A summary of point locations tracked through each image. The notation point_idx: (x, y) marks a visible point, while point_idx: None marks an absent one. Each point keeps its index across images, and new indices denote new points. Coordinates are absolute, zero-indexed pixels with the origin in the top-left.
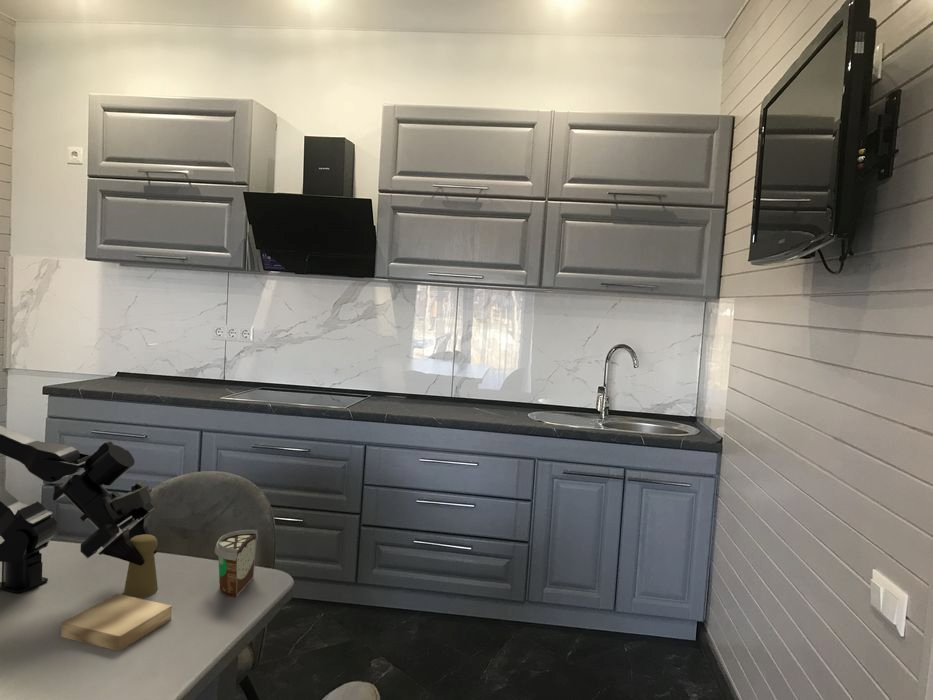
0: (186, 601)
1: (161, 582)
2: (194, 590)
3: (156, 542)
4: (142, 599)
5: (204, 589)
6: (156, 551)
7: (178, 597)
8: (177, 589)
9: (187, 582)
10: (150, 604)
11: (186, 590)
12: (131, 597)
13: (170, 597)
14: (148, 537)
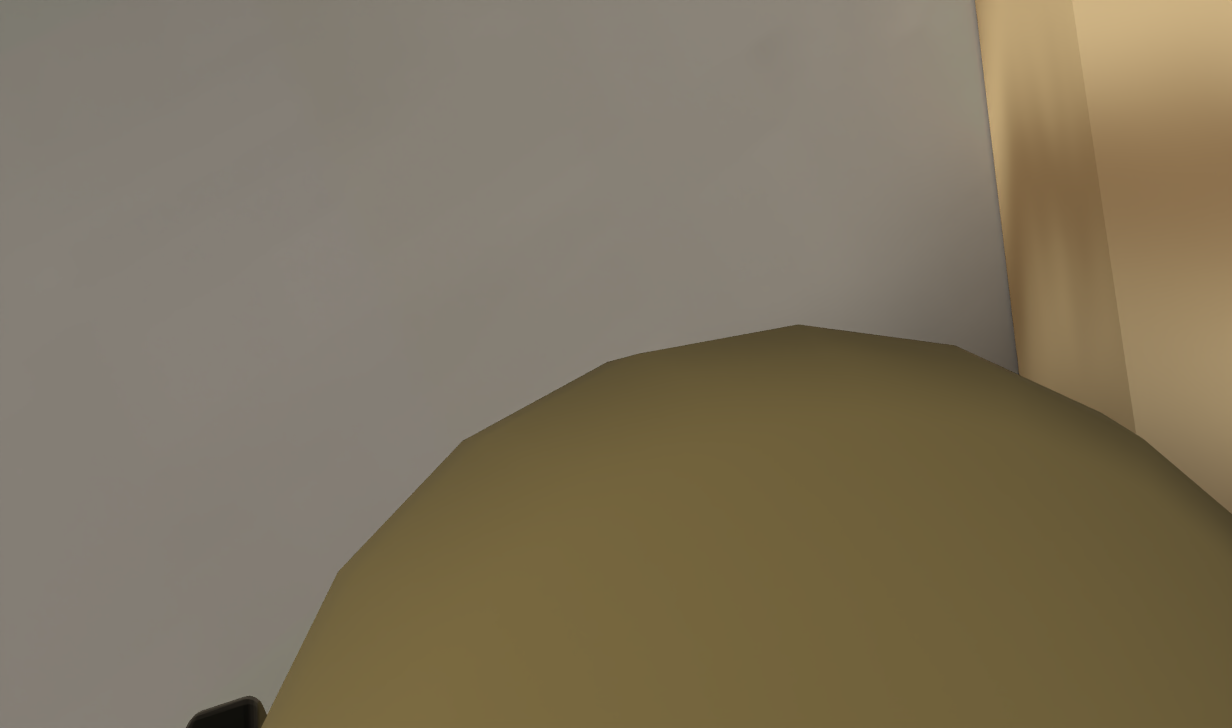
0: (576, 30)
1: (174, 702)
2: (265, 106)
3: (592, 375)
4: (1110, 235)
5: (192, 12)
6: (244, 701)
7: (523, 169)
8: (318, 322)
9: (45, 339)
10: (1150, 67)
11: (303, 197)
12: (1144, 403)
13: (563, 256)
14: (910, 595)
